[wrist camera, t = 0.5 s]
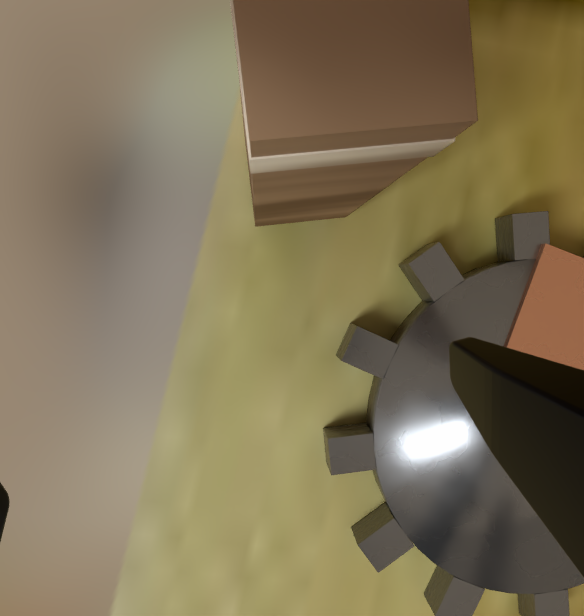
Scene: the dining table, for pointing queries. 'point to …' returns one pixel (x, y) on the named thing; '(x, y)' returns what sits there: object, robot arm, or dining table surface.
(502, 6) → the dining table surface
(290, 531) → the dining table surface
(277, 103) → the link block
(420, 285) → the sprocket plate
